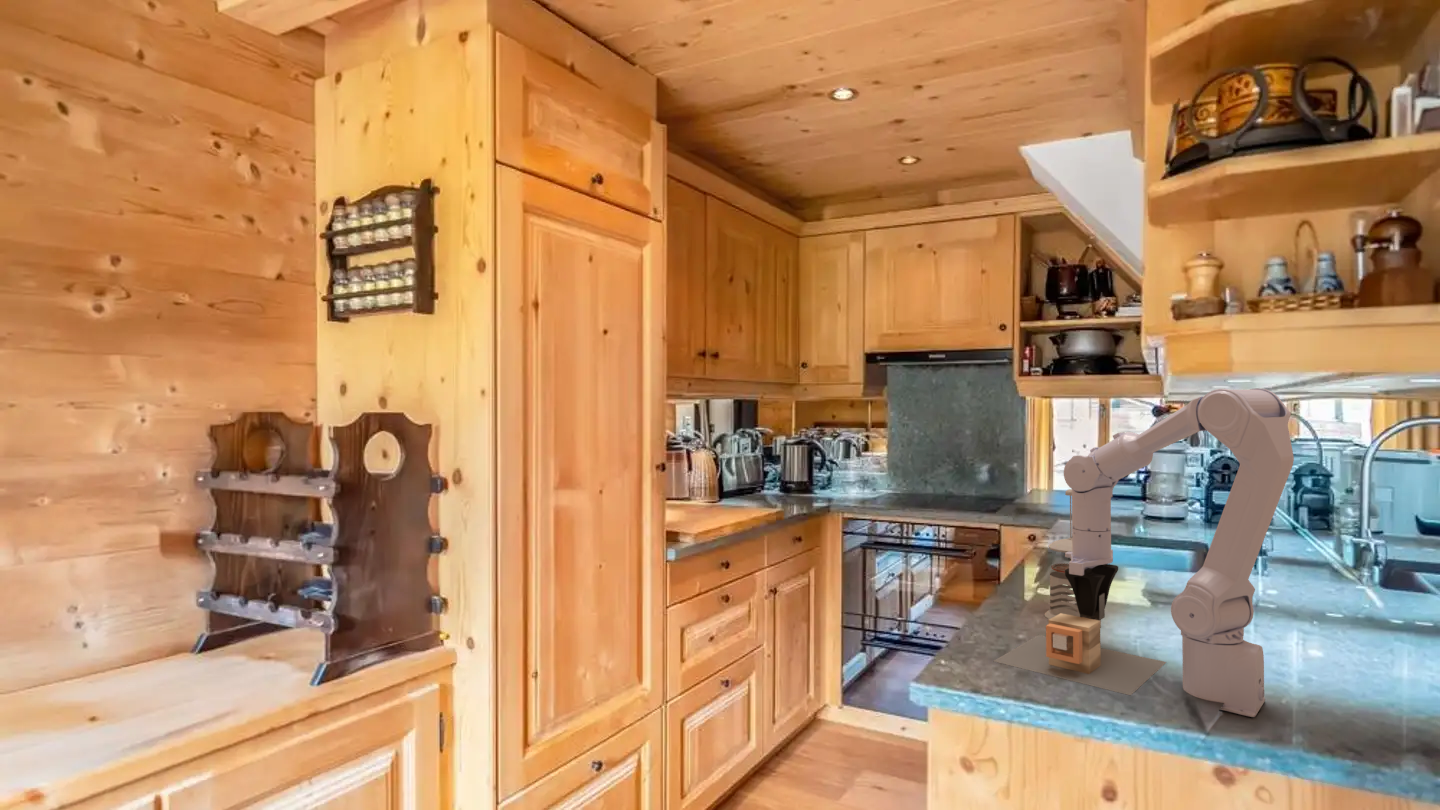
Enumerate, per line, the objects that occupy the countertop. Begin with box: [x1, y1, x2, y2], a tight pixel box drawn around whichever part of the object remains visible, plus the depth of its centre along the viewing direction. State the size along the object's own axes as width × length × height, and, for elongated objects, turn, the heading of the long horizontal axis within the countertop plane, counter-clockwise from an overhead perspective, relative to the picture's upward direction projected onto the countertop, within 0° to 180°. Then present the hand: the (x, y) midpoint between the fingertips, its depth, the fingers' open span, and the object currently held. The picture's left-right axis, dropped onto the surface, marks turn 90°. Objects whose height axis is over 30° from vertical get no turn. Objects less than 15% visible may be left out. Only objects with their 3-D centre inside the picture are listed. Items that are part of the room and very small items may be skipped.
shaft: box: [1053, 592, 1106, 650], centre depth 118 cm, size 3×15×6 cm, turn 135°
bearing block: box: [1047, 613, 1101, 674], centre depth 117 cm, size 6×5×7 cm
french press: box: [1044, 488, 1080, 620], centre depth 144 cm, size 10×12×25 cm
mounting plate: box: [992, 634, 1167, 696], centre depth 118 cm, size 20×18×1 cm
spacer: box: [1045, 623, 1083, 664], centre depth 114 cm, size 5×2×5 cm, turn 45°
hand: (1092, 611), depth 122 cm, fingers open, 4 cm apart
